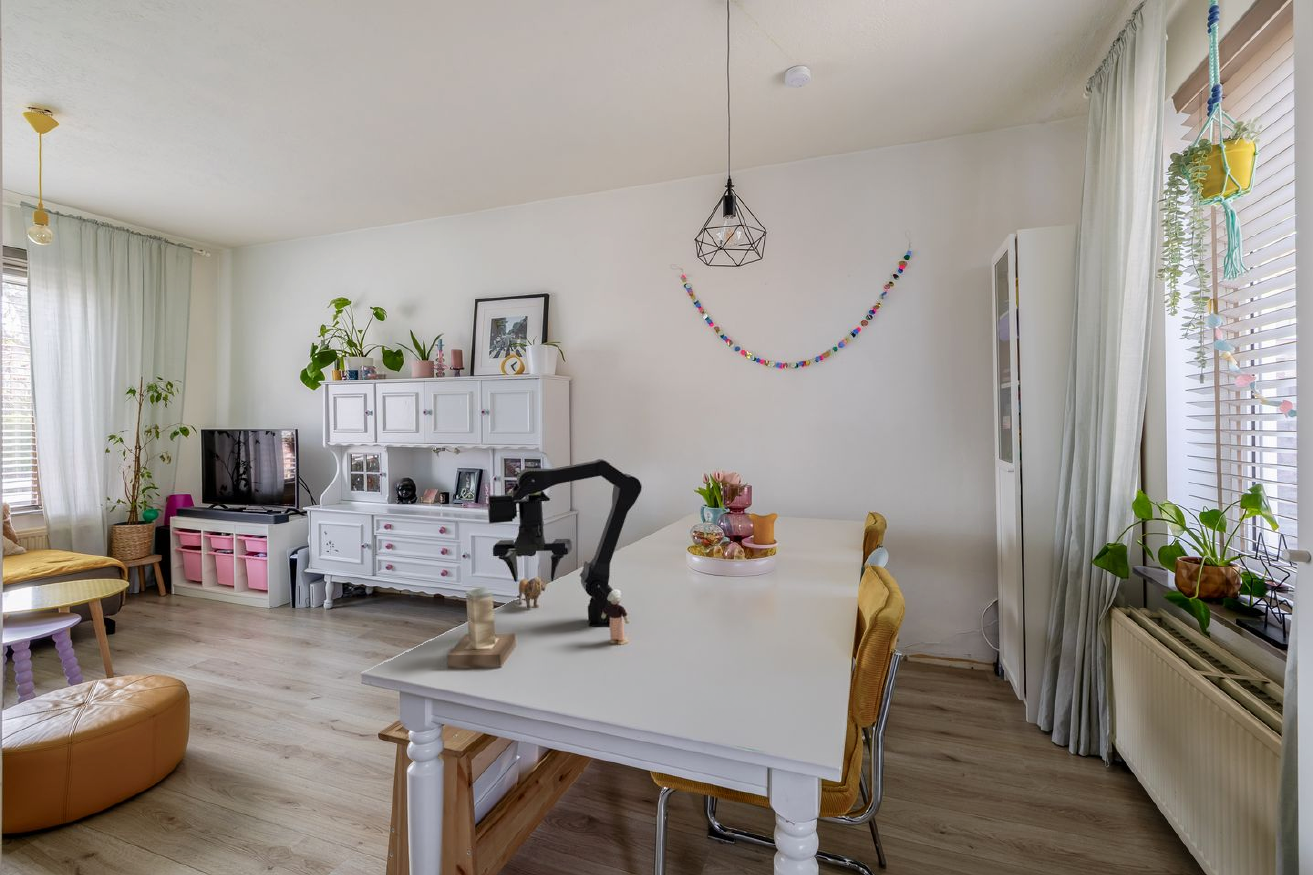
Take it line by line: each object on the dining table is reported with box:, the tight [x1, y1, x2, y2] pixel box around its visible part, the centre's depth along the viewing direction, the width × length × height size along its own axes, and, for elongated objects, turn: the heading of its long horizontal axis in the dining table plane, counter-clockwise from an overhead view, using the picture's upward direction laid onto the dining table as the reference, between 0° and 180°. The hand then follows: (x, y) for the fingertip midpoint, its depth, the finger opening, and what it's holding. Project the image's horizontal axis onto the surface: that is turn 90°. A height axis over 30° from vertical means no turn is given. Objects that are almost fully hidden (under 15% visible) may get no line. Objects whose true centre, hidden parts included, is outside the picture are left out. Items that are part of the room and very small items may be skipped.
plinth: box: [446, 633, 517, 669], centre depth 151 cm, size 12×12×3 cm
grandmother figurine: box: [601, 589, 630, 646], centre depth 157 cm, size 8×4×13 cm, turn 71°
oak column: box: [465, 587, 496, 649], centre depth 151 cm, size 5×5×12 cm
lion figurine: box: [516, 577, 548, 611], centre depth 186 cm, size 15×5×9 cm, turn 39°
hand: (534, 581), depth 165 cm, fingers open, 9 cm apart
